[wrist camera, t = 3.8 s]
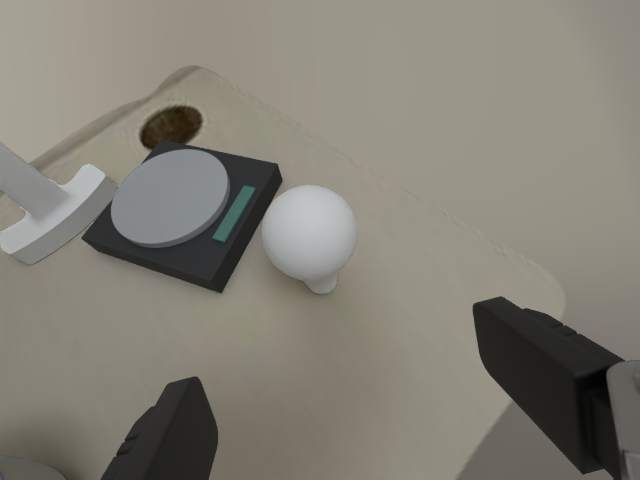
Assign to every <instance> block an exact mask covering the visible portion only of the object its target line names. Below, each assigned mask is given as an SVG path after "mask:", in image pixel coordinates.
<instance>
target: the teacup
mask: <svg viewBox="0 0 640 480" xmlns="http://www.w3.org/2000/svg"><path fill="white" fill-rule="evenodd" d="M0 480H66V479H65V478H64V476H63V475H61V474H60V473H59V472H58V471H56V470H55V469H54V468H52V467H50V466H48V465H46V464H43V463H41V462H37V461H33V460H28V459H23V458H17V457H9V456H0Z"/></svg>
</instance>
